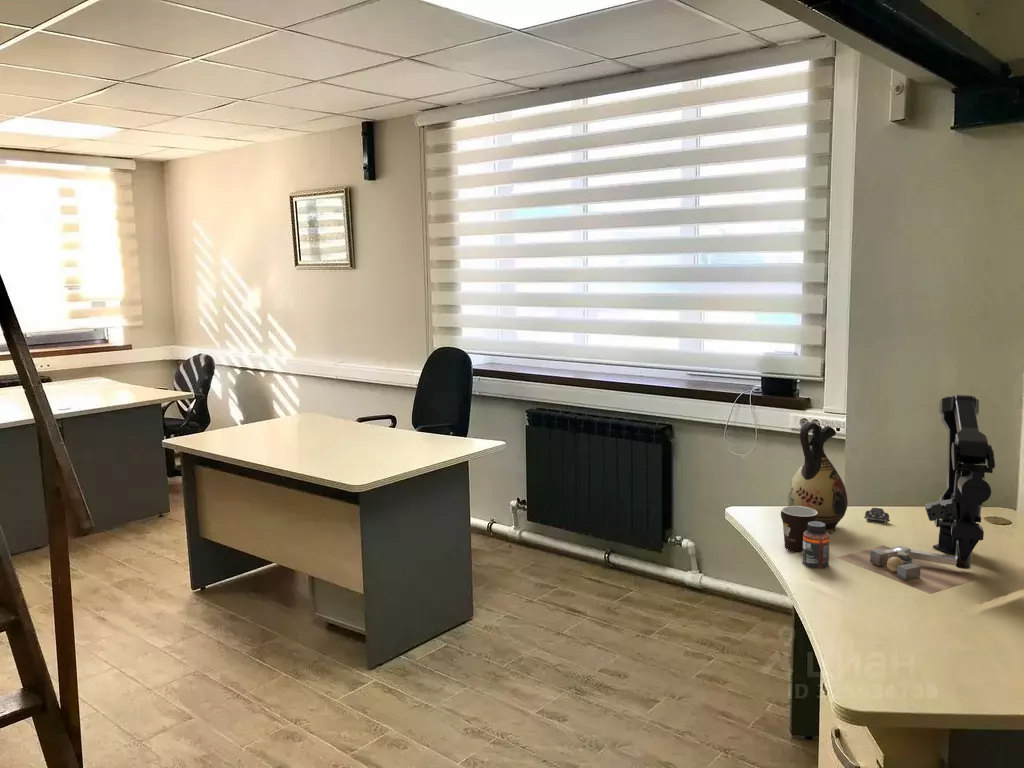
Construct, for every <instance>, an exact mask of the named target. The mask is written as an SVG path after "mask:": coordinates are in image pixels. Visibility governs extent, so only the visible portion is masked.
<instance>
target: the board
mask: <svg viewBox="0 0 1024 768" xmlns="http://www.w3.org/2000/svg"><path fill="white" fill-rule="evenodd" d="M892 548H893V547H889V546H888V545H887V546H886V545H880V546H875V547H872V548H867V549H865V550H860V551H856V552H852V553H848V554H845V555H840V556H837V557H836V558H837V559H840V560H842V561H845V562H847V563H849V564H852V565H854V566H857V567H860V568H863V569H866V570H867V571H870V572H874V573H876V574H878V575H881V576H883V577H886V578H889V579H890V580H893V581H896V582H898V583H901V584H904V585H907V586H909V587H911V588H915V589H918V590H920V591H922V592H925V593H927V594H929V595H930V594H935V593H938V592H942V591H943V590H947V589H951V588H954V587H957V586H960V585H963V584H966V583H970V582H973V581H977V580H979V578H978V577H976V576H972V575H970V574H967V573H963V572H961V571H958V570H955V569H952V568H949V567H946V566H944V565H942V564H939V563H936V562H930V561H924V560H917V559H912V563H913V564H916V565H918V566H920V567H921V568H920V578H918V579H914V580H909V581H904V580H901V579H899V578H897V573H895V572H892V571H890V570H889V569H888V567H887V565H885V566H877V565H875V564H873V563H871V562H870V553H871V550H875V549H880V550H890V549H892Z"/></svg>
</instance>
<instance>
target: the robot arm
mask: <svg viewBox="0 0 1024 768" xmlns="http://www.w3.org/2000/svg"><path fill="white" fill-rule="evenodd" d="M938 404H939V405H938V413H939V415H941V423H942V425H943V427H944V428H945V429H946V431H947V459H946V460H947V464H946V465H947V466H946V468H947V469H946V475H947V476H946V489H945V490H944V491H943V493H942V494H941V496H940V497H939V500H937V501H932V502H928V503H925V504H924V508H925V511H926V514H927V518H928V520H929V521H930V522H932V521H933V522H934V524H935V527H936V528H939V533H938V542H937V543H938V544H934V545H932V548H933V549H936V550H939V551H942V552H945V553H947V554H951V555H953V556H956V545H957V540H958V545H959V552H960V560H962V561H966V560H967V558H968V557H969V555H970V554H971V552H972V553H973V550H974V548H975V547H976V546H977V544H978V543H979V541H984V535H985V531H984V527H982V525H981V524H979V523H982V517H981V513H982V505H983V503H985V502H987V501H988V500H989V499H990V498H991V494H992V489H991V486H990V484H989V482H988V481H987V480H986V477H985V473H987V474H988V473H989V474H992V473H993V469H995V467H996V463H995V461H996V460H995V452H994V449H993V447H992V445H991V444H989V441H988V437H987V435H986V434H985V433H983V432H981V431H980V429H979V423H978V417H977V416H978V415H979V414H980V400H979V399H977V398H976V396H973V395H967V394H965V395H964V394H955V395H952V396H945V397H941V399H940V400H939V403H938Z"/></svg>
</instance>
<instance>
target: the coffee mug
mask: <svg viewBox="0 0 1024 768" xmlns="http://www.w3.org/2000/svg"><path fill="white" fill-rule="evenodd" d="M817 513H818V512H817V511H816V510H814V509H811V508H808V507H802V506H789V505H788V506H784V507H783V508H782V509H781V511H780V518H781V521H782V528H783V538H784V540H783V541H784V542H783V543H784V549H785V548H786V549H785V550H787V549H788V550H790V551H789V552H791V551H793V552H792V553H796V552H798V553H803V534H804V532H805V531H806V530H807V529H808V523H809V522H812V521H816V519H817ZM788 550H787V551H788Z"/></svg>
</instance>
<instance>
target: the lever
mask: <svg viewBox="0 0 1024 768" xmlns="http://www.w3.org/2000/svg"><path fill="white" fill-rule="evenodd" d="M891 548H892V549H890V550H880V549H875V550H871V553H870V562H871V563H873V564H875V565H877V566H885V565H887V561H888V559H889V558H891V557H898V558H900V559H909V558H911V559H917V560H924V561H930V562H933V563H936V564H941V565H942V564H943V565H949V566H954V567H956V568H958V569H961V570H962V569H963V570H969V569H971V568H972V555H973V551H972V552H971V554H970V555H969V557H968V558H967V560H966V561H962V560H960V552H959V545H958V540H957V545H956V555H947V554H941V553H935V552H931V551H930V552H929V551H922V550H917V549H911V548H909V547H908V546H903V545H893V546H892V547H891Z"/></svg>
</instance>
